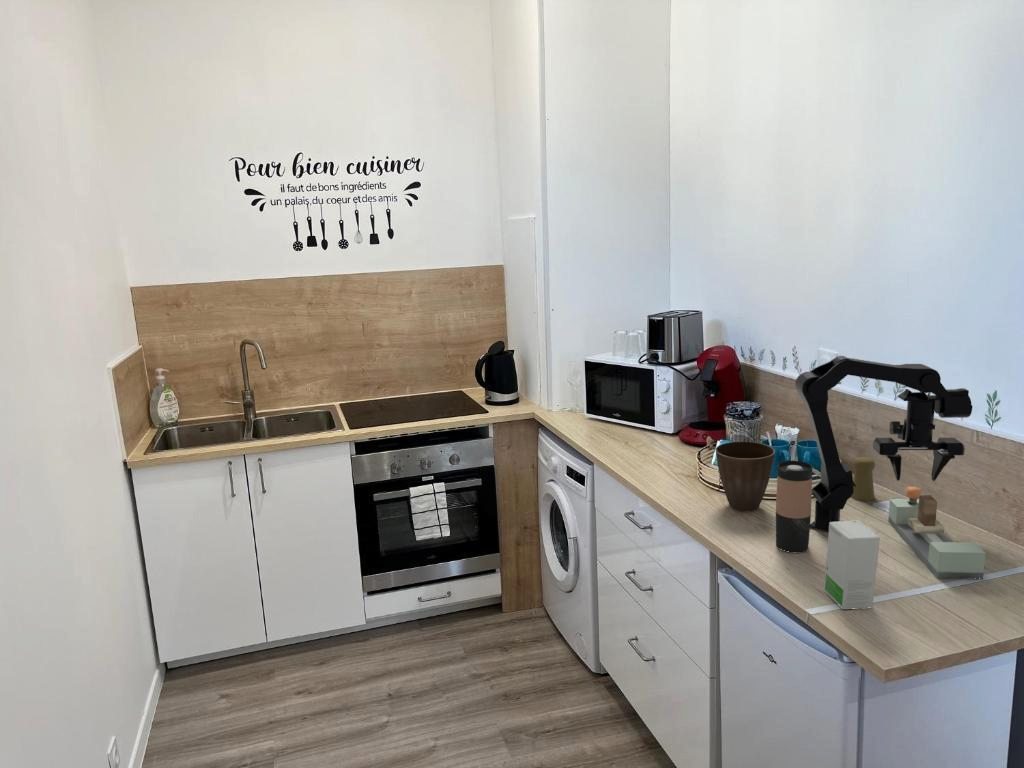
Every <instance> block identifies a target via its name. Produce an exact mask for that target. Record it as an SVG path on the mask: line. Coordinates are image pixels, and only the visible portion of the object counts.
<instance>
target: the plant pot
mask: <svg viewBox="0 0 1024 768" xmlns="http://www.w3.org/2000/svg"><path fill="white" fill-rule="evenodd" d="M775 450H776V449H774V448H773V447H771V446H770V445H768V444H764V443H759V442H755V441H729V442H724V443H721V444H719V445H717V446H716V447H715V456H716V463H717V469H718V474H719V477H720V481H721V485H722V488H723V491H724V494H725V496H726V499H727V503H728V505H729V507H730V509H732V510H734V511H738V512H743V513H744V512H746V513H747V512H755V511H757V510H758V509H759V507H760V505H761V504H762V501H763V498H764V496H765V494H766V491H767V488H768V483H769V481H770V477H771V475H772V474H771V473H772V469H773V465H774V460H775V452H776V451H775Z"/></svg>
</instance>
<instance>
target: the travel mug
mask: <svg viewBox="0 0 1024 768" xmlns="http://www.w3.org/2000/svg"><path fill="white" fill-rule="evenodd" d="M812 489H813V465H812V464H810V463H808V462H805V461H802V460H783V461H781V462H779V463H778V464H777V478H776V497H775V499H776V502H775V546H776V548H777V547H778V548H780V549H782V550H785V551H789V552H802V553H805V552H807V551H808V550H809V544H810V543H809V542H810V530H811V527H810V524H811V521H812V519H811V517H812V495H813V494H812ZM778 548H777V549H778ZM780 549H779V550H780ZM807 549H808V550H807ZM782 550H781V551H782ZM806 550H807V551H806ZM785 551H784V552H785ZM804 551H805V552H804ZM789 552H788V553H789Z"/></svg>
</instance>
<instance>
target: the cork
mask: <svg viewBox="0 0 1024 768" xmlns="http://www.w3.org/2000/svg"><path fill="white" fill-rule="evenodd" d="M875 464H876V463H875V461H874V459H872V458H871V457H867V456H859V457H856V458H855V459H854V460H853V468H854V469H855V470H854V475H853V482H854V484H855V485H856V486H853V488H854V493H853V495H852V496H851V497H850V498H851V499H854V500H856V501H861V502H871V501H874V500H875V499H876V498H875V488H874V479H873V476H874V475H873V470H875V467H876V465H875Z"/></svg>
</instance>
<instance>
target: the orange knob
mask: <svg viewBox="0 0 1024 768" xmlns="http://www.w3.org/2000/svg"><path fill="white" fill-rule="evenodd" d="M919 495H922V488H920V487H918V486H910V485H909V486H907V487H906V491H905V497H906V498H908V499H909V504H910V505H917V499H919Z"/></svg>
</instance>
